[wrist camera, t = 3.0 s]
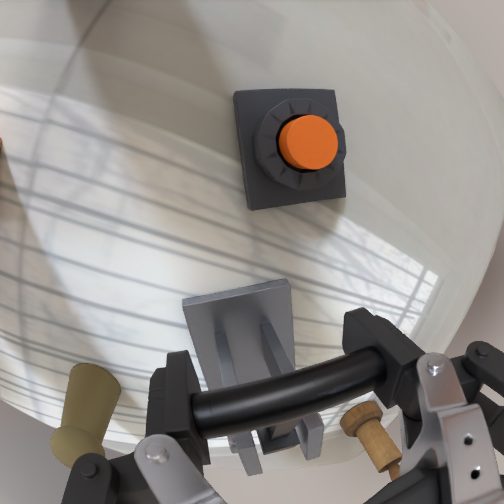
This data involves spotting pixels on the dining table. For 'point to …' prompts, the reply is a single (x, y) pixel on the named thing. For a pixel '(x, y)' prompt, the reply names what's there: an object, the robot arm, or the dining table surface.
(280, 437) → the black t-handle
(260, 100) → the control block
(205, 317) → the lever stand
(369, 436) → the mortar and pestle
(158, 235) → the dining table surface
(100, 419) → the cork
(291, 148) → the button
